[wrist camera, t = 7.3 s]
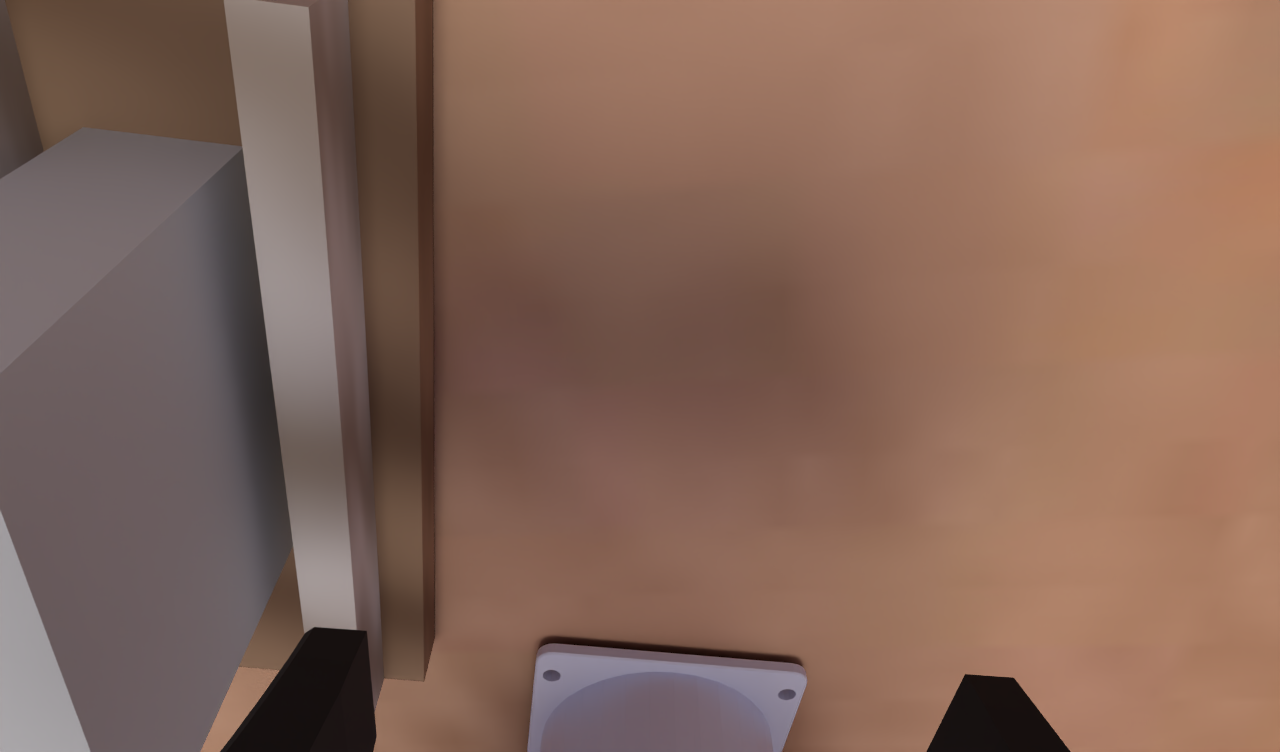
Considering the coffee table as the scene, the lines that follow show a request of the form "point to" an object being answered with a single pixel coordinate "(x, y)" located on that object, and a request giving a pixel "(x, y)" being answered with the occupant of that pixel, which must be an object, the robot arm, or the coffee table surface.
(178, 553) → the door panel
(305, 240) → the track base
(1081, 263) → the coffee table surface
